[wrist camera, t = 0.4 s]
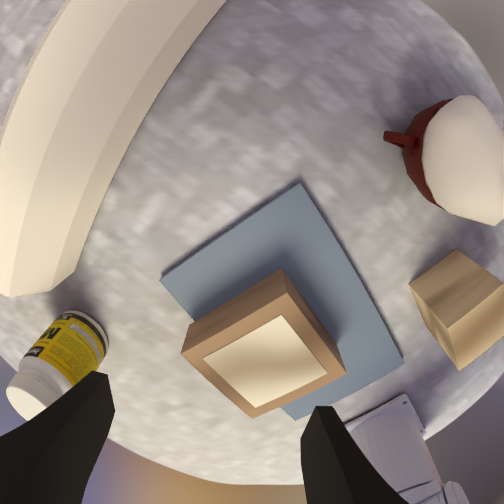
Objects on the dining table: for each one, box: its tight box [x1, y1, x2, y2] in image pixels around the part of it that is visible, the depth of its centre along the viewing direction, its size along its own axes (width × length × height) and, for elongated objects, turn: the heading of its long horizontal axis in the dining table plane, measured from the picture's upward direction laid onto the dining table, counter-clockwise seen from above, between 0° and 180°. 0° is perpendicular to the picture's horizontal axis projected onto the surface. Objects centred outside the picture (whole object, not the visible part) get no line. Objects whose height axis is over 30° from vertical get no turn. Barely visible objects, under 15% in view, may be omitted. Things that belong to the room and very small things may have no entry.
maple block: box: [409, 249, 504, 371], centre depth 17 cm, size 4×4×6 cm
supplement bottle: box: [6, 310, 108, 421], centre depth 17 cm, size 5×5×8 cm
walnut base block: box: [181, 268, 347, 418], centre depth 18 cm, size 7×7×3 cm
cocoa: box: [383, 95, 504, 226], centre depth 10 cm, size 10×6×12 cm, turn 61°
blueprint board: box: [159, 182, 404, 420], centre depth 20 cm, size 16×10×1 cm, turn 35°
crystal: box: [0, 0, 227, 297], centre depth 13 cm, size 7×7×24 cm
